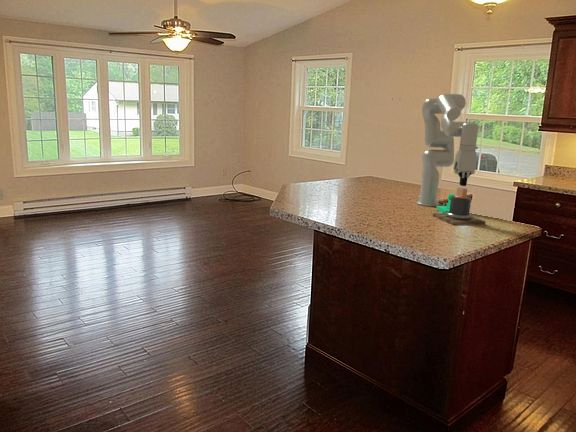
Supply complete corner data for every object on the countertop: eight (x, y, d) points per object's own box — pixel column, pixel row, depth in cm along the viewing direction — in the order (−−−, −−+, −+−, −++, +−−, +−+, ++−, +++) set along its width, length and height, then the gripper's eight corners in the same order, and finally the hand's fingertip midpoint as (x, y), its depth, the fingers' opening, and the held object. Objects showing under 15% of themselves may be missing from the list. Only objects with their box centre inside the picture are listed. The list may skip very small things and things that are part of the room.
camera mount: (435, 210, 267) (437, 192, 264) (448, 210, 268) (450, 192, 266) (446, 215, 255) (448, 196, 253) (459, 215, 257) (461, 196, 254)
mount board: (432, 216, 251) (433, 213, 251) (463, 215, 255) (464, 213, 255) (452, 224, 234) (452, 221, 234) (484, 224, 238) (485, 221, 238)
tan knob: (450, 204, 245) (452, 187, 243) (461, 204, 247) (464, 187, 245) (458, 207, 239) (460, 189, 237) (469, 206, 241) (471, 189, 239)
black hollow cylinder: (441, 214, 249) (443, 195, 246) (462, 214, 251) (464, 195, 249) (454, 220, 237) (457, 200, 235) (476, 219, 240) (478, 200, 238)
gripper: (476, 148, 242) (471, 184, 246) (449, 147, 238) (445, 184, 242) (485, 149, 235) (480, 187, 239) (458, 148, 231) (453, 186, 235)
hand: (462, 185), depth 241 cm, fingers closed
